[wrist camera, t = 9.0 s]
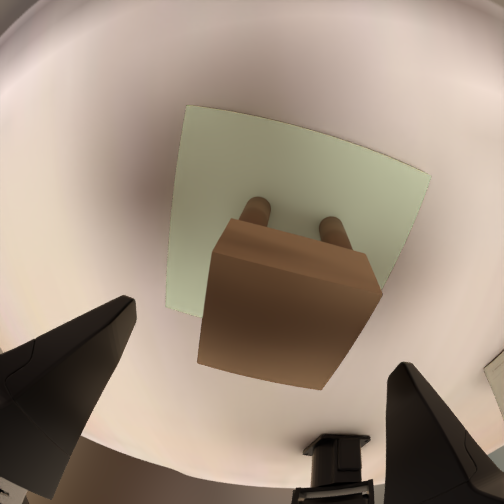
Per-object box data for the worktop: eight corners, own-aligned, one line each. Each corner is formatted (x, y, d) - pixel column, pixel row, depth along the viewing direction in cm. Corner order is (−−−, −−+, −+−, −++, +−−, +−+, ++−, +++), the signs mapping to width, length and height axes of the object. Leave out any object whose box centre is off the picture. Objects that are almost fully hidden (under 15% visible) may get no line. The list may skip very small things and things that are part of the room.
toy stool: (316, 300, 15) (321, 390, 10) (228, 278, 15) (196, 363, 10) (349, 219, 13) (382, 294, 7) (246, 191, 13) (211, 251, 7)
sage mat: (343, 340, 17) (344, 351, 17) (170, 297, 18) (165, 307, 17) (423, 171, 12) (431, 176, 11) (193, 105, 12) (186, 105, 11)
